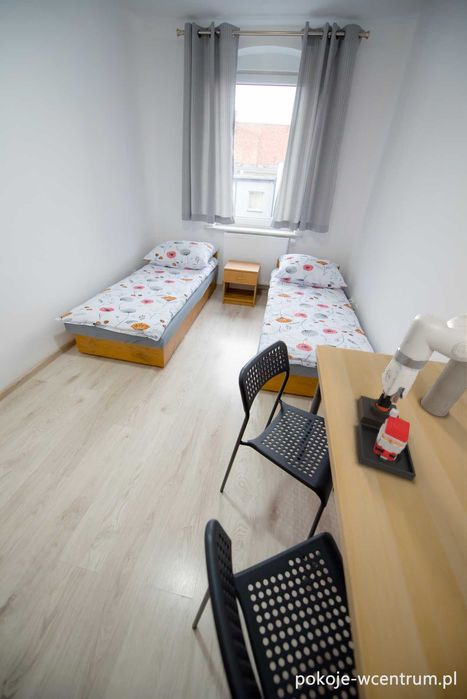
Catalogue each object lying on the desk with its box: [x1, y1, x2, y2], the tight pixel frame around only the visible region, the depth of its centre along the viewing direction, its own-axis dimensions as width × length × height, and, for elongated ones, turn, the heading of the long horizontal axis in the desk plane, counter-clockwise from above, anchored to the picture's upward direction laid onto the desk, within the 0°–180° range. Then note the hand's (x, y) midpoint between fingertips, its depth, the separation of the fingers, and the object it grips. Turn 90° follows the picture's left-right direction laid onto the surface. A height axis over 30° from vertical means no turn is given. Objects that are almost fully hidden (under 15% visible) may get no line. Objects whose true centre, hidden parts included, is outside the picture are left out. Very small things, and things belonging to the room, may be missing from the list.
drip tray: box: [356, 422, 417, 481], centre depth 77 cm, size 13×13×2 cm
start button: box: [376, 403, 389, 412], centre depth 86 cm, size 4×4×2 cm
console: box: [357, 395, 400, 428], centre depth 87 cm, size 11×10×4 cm
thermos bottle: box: [420, 358, 467, 417], centre depth 87 cm, size 8×8×28 cm
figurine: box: [373, 408, 411, 462], centre depth 73 cm, size 8×7×12 cm
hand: (382, 405), depth 86 cm, fingers closed
